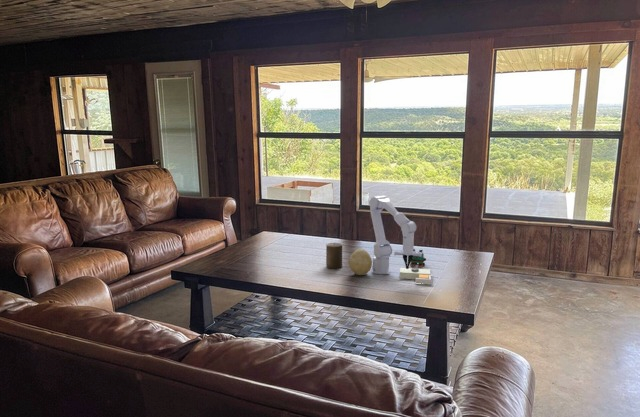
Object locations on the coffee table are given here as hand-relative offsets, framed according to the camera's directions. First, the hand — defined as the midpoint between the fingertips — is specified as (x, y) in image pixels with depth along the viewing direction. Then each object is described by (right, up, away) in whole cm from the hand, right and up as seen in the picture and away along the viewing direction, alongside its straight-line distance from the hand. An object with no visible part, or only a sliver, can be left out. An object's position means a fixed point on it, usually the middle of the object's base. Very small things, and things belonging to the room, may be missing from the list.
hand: (407, 268), depth 250 cm
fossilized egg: (-24, -5, +11) cm, 27 cm away
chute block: (+9, -7, -1) cm, 11 cm away
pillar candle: (-39, -3, +26) cm, 47 cm away
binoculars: (+12, -2, +29) cm, 31 cm away
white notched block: (+5, -6, +4) cm, 9 cm away
